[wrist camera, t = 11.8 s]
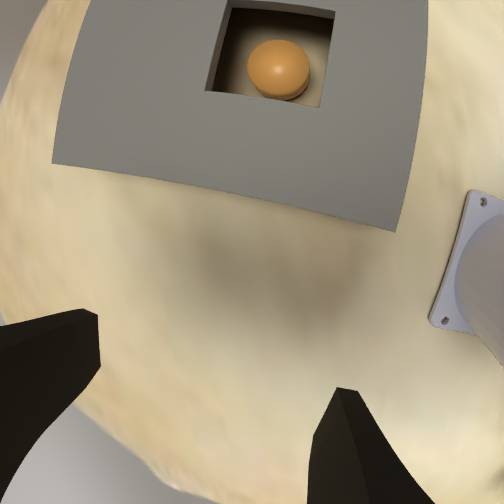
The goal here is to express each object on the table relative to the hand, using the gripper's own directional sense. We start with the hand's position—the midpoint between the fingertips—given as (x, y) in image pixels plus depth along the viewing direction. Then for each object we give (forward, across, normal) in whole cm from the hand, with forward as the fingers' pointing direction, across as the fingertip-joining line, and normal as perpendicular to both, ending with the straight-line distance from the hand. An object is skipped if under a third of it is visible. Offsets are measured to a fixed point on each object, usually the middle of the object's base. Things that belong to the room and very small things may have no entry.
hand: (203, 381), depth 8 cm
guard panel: (+9, +3, -11) cm, 14 cm away
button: (+9, +1, -11) cm, 14 cm away
